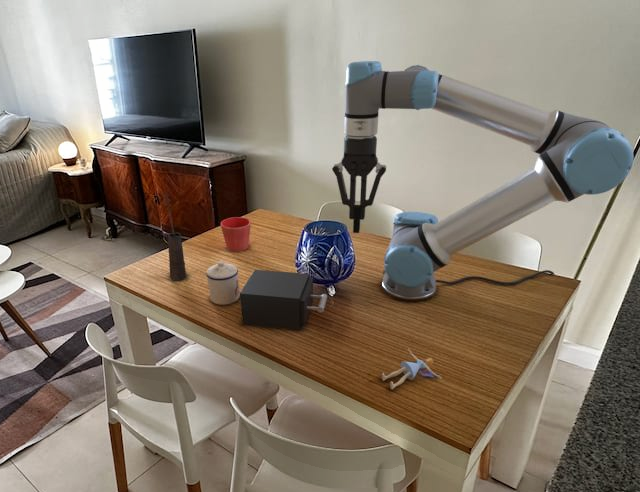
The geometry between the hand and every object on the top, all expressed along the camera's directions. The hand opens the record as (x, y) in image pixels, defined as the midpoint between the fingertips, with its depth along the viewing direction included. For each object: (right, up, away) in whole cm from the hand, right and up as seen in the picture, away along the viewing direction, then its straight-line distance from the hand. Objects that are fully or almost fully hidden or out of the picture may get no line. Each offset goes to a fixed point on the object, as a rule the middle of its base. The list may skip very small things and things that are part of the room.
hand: (356, 230), depth 116 cm
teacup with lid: (-36, -17, +19) cm, 44 cm away
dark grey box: (-20, -22, +9) cm, 31 cm away
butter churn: (-52, -12, +30) cm, 61 cm away
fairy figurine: (+9, -34, -16) cm, 39 cm away
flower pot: (-35, 0, +49) cm, 60 cm away
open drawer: (-17, -21, +7) cm, 28 cm away
